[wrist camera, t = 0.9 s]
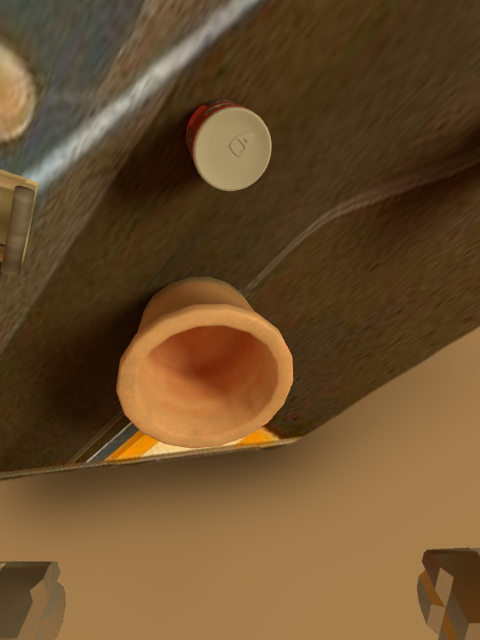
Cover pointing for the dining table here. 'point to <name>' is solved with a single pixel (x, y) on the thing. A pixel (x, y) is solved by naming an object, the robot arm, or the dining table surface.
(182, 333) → the pottery
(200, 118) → the canned food
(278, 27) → the dining table surface
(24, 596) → the robot arm
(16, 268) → the bay
